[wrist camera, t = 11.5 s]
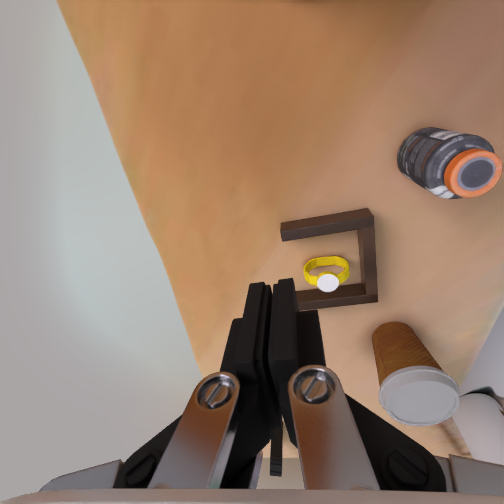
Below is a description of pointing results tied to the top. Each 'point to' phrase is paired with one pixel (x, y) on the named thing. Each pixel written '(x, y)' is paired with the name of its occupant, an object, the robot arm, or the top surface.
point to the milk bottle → (481, 427)
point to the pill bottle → (449, 163)
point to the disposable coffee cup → (411, 378)
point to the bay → (366, 237)
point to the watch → (326, 273)
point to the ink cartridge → (276, 453)
